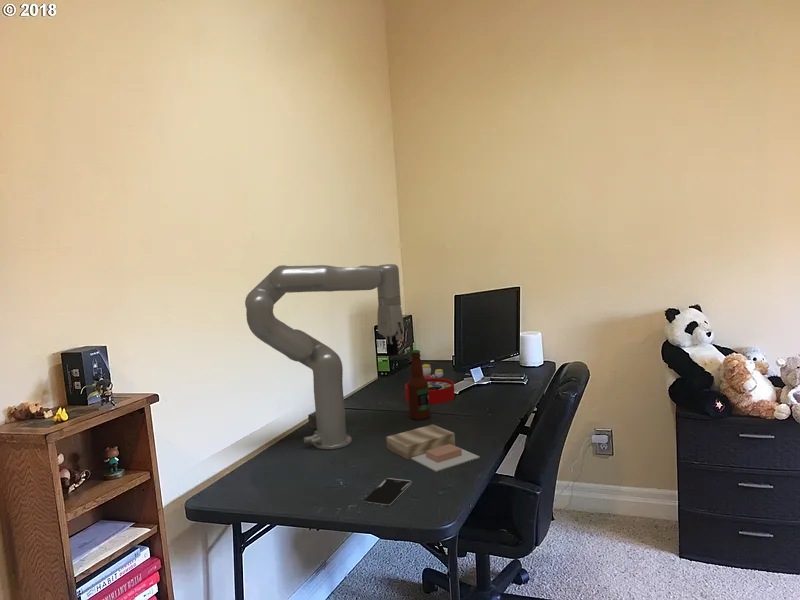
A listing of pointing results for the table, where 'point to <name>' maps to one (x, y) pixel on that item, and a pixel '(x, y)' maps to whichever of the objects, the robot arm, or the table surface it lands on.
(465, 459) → the mat
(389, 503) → the smartphone
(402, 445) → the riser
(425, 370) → the toy figures
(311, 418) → the dice cube
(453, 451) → the tile
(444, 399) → the toy clock
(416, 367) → the bottle
